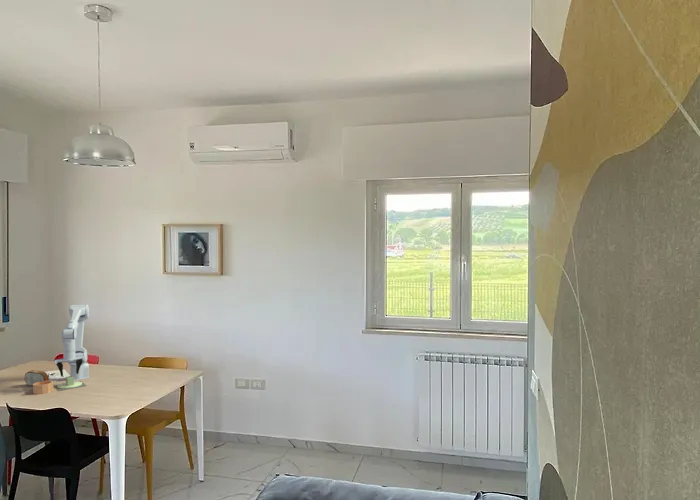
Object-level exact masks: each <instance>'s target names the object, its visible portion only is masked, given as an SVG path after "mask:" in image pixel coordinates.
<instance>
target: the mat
mask: <svg viewBox="0 0 700 500" xmlns="http://www.w3.org/2000/svg"><path fill="white" fill-rule="evenodd" d="M77 381H78V382H82V385H81V386H79V387H75V388H70V389H58V388H57V386H58V385H59V384H56V385H54V384H53V389H55V390H56V391H57V392H61V391H68V390H73V389H78V388H84V387H87V384H85V383H84V382H83V381H81V380H77Z"/></svg>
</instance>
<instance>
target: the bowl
mask: <svg viewBox="0 0 700 500" xmlns="http://www.w3.org/2000/svg"><path fill="white" fill-rule="evenodd" d="M53 386H54V380H49V381H40V382H36V383H34V384H33V386H32V392H33V394H34V395H44V394H49V393H51V392H53V391H54V387H53Z"/></svg>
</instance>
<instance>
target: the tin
mask: <svg viewBox="0 0 700 500" xmlns="http://www.w3.org/2000/svg"><path fill="white" fill-rule="evenodd" d="M49 377H50V376H49V375H48V373H47V372H45V371H44V370H33V369H32V370H30V371H27V372H25V374H24V382H25V384H26V385H27V386H32V387H33V384H34V383H36V382H40V381H50V378H49Z"/></svg>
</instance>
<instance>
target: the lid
mask: <svg viewBox="0 0 700 500" xmlns="http://www.w3.org/2000/svg"><path fill="white" fill-rule="evenodd" d="M78 381H79V380H74V377H72V376H70V375H69V376H65V382H62V383H59V384H57V385H58V386H57V388H58V389H68V390H71V389H70V388H74V389H76V388H75V387H79V386H81V385H82V382H83V381H81V382H78ZM79 388H80V387H79Z"/></svg>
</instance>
